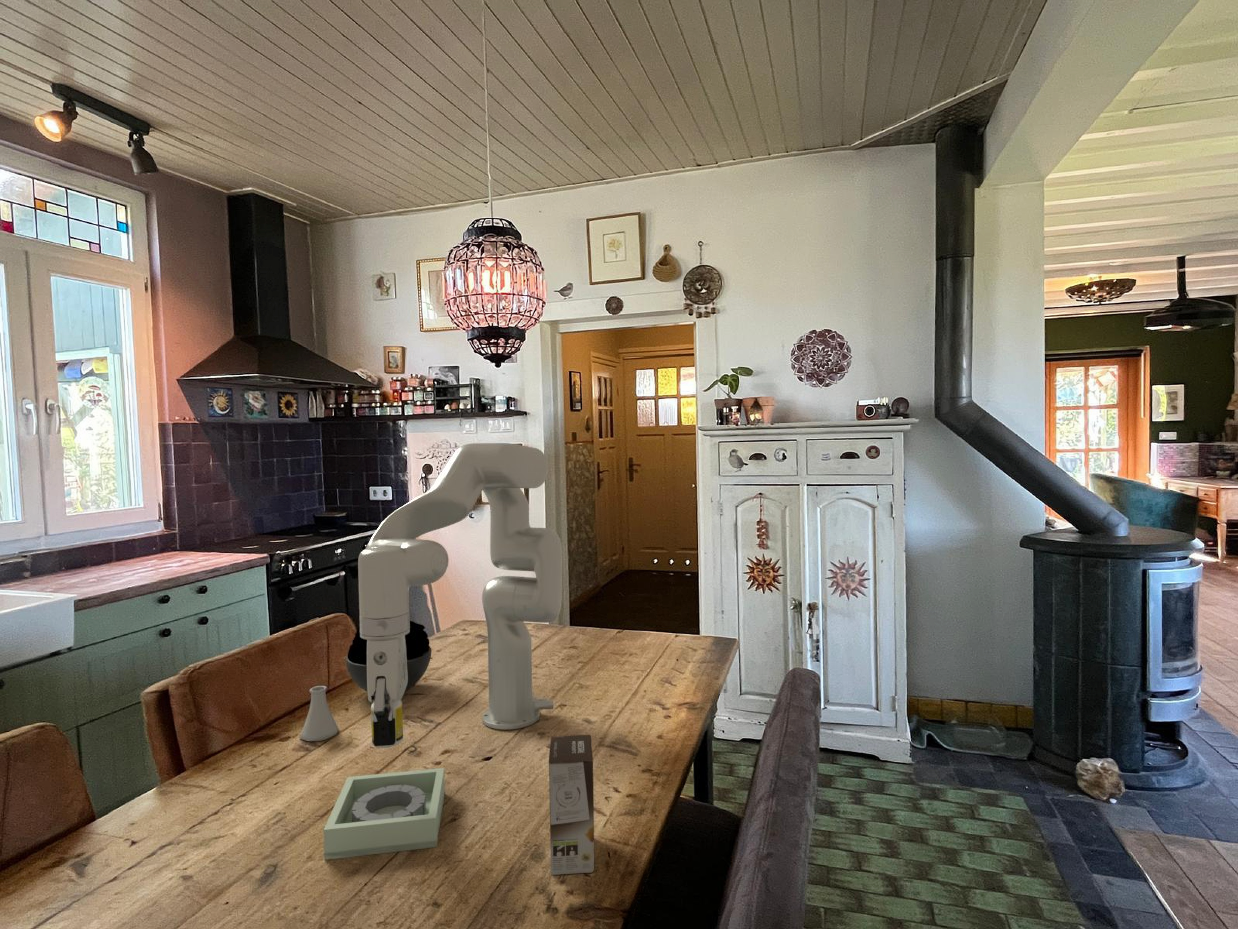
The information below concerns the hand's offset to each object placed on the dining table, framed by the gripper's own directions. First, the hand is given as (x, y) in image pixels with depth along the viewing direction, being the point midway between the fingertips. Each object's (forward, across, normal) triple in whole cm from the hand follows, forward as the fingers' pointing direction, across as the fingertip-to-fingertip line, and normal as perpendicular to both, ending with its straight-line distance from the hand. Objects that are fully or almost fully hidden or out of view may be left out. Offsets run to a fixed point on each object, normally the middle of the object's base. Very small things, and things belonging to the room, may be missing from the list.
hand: (387, 736), depth 108 cm
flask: (+15, +38, +20) cm, 45 cm away
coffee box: (+15, -14, -28) cm, 35 cm away
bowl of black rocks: (+14, +60, +9) cm, 62 cm away
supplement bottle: (+1, 0, 0) cm, 1 cm away
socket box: (+14, 0, 0) cm, 14 cm away
